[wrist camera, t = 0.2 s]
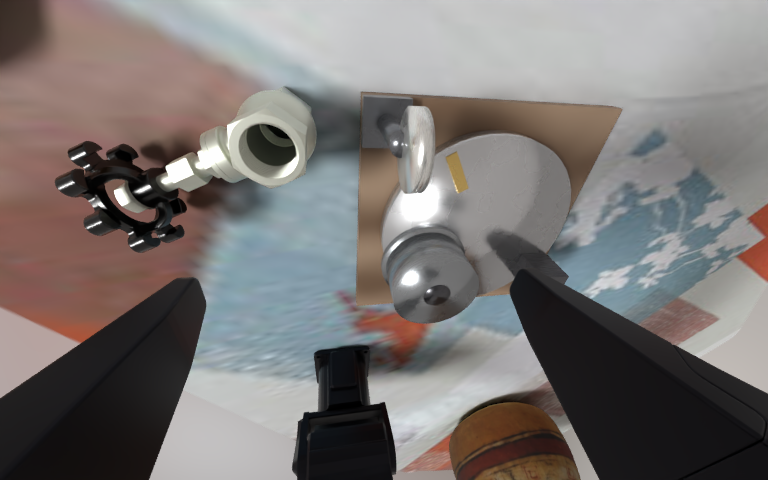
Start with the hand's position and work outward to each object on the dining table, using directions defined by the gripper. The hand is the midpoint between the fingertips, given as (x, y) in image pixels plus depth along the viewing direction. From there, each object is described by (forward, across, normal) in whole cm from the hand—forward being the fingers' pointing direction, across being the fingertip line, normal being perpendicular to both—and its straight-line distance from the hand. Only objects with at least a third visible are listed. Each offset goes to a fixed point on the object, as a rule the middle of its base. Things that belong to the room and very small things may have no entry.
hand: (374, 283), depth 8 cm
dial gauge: (+13, -2, -2) cm, 14 cm away
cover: (+12, -6, +9) cm, 16 cm away
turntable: (+13, -11, +6) cm, 18 cm away
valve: (+15, +8, +1) cm, 17 cm away
